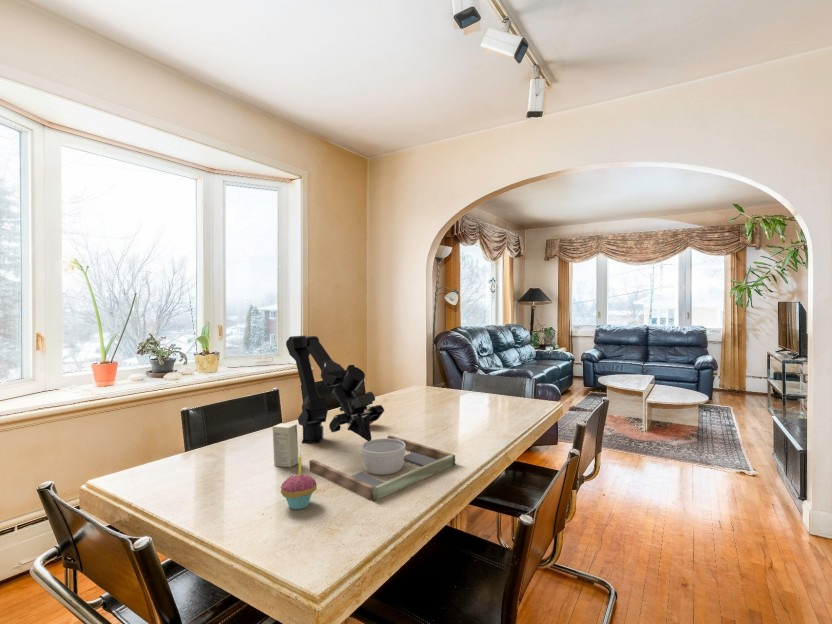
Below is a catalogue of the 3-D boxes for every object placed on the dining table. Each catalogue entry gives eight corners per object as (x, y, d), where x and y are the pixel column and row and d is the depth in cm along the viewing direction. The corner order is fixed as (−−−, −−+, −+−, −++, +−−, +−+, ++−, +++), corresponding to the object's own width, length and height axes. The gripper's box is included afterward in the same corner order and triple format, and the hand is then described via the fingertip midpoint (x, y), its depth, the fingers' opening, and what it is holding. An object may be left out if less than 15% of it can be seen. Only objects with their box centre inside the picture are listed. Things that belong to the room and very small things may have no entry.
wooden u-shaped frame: (309, 470, 126) (309, 460, 125) (390, 443, 149) (389, 435, 149) (373, 501, 105) (373, 489, 105) (455, 464, 129) (455, 454, 129)
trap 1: (344, 481, 117) (344, 478, 117) (361, 475, 122) (361, 472, 122) (367, 492, 110) (367, 489, 110) (384, 485, 115) (384, 482, 115)
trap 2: (400, 459, 133) (400, 457, 133) (414, 454, 138) (414, 452, 138) (424, 468, 126) (424, 465, 126) (437, 462, 131) (437, 459, 131)
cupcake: (285, 497, 108) (284, 451, 108) (319, 496, 109) (318, 449, 108) (277, 514, 99) (276, 463, 99) (314, 512, 100) (313, 462, 100)
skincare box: (299, 462, 132) (298, 423, 132) (290, 468, 128) (289, 427, 127) (281, 460, 134) (281, 422, 134) (272, 465, 130) (272, 426, 130)
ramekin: (353, 473, 123) (353, 449, 123) (373, 457, 135) (373, 436, 135) (395, 479, 118) (394, 454, 118) (412, 462, 131) (412, 440, 130)
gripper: (333, 389, 128) (357, 432, 120) (380, 380, 141) (404, 419, 134) (319, 411, 133) (341, 453, 126) (365, 400, 147) (387, 438, 139)
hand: (370, 440), depth 131 cm, fingers closed, pressing on ramekin
